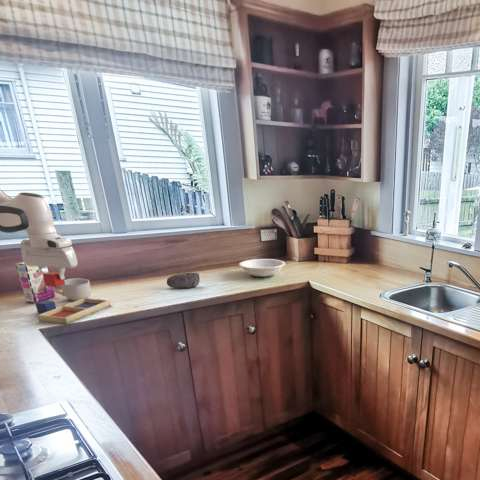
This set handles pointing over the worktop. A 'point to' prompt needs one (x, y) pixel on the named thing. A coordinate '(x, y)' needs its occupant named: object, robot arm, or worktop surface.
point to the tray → (74, 311)
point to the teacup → (75, 289)
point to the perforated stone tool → (183, 280)
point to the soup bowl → (262, 267)
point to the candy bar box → (33, 283)
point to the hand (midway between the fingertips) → (54, 278)
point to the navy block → (45, 306)
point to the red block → (52, 279)
